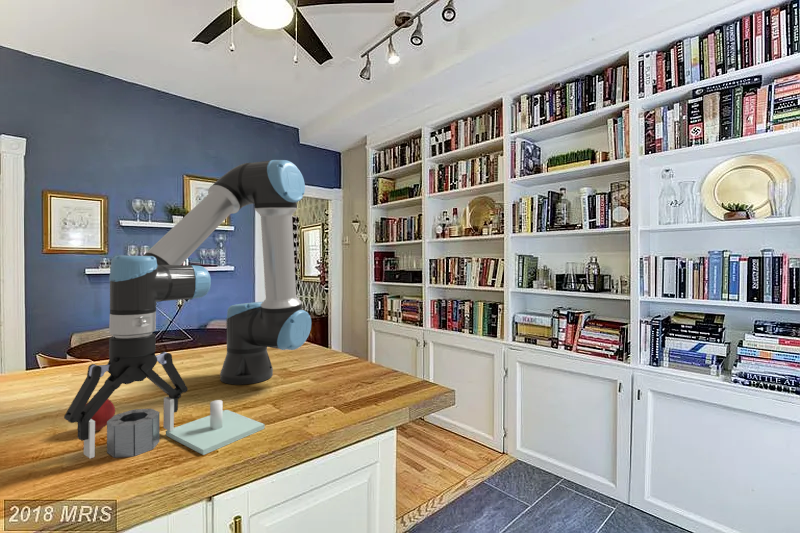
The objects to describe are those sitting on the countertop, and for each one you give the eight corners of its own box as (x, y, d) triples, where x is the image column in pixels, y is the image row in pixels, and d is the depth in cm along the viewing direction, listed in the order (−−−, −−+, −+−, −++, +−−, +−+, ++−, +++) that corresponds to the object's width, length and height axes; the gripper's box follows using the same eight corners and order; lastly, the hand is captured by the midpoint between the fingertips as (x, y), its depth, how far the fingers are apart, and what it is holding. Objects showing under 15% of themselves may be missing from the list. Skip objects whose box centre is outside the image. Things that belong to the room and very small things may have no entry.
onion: (93, 424, 87) (93, 388, 87) (120, 424, 88) (120, 388, 88) (74, 436, 82) (73, 398, 81) (103, 436, 82) (103, 398, 82)
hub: (101, 449, 77) (101, 418, 77) (146, 433, 83) (146, 405, 83) (120, 461, 72) (119, 429, 72) (165, 444, 79) (165, 414, 79)
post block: (165, 435, 83) (165, 404, 83) (226, 413, 95) (226, 386, 94) (203, 455, 75) (203, 421, 75) (264, 428, 87) (264, 399, 87)
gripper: (58, 348, 64) (57, 476, 65) (205, 328, 86) (204, 424, 86) (42, 342, 69) (41, 462, 69) (187, 324, 90) (185, 416, 90)
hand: (131, 442), depth 77 cm, fingers open, 13 cm apart
